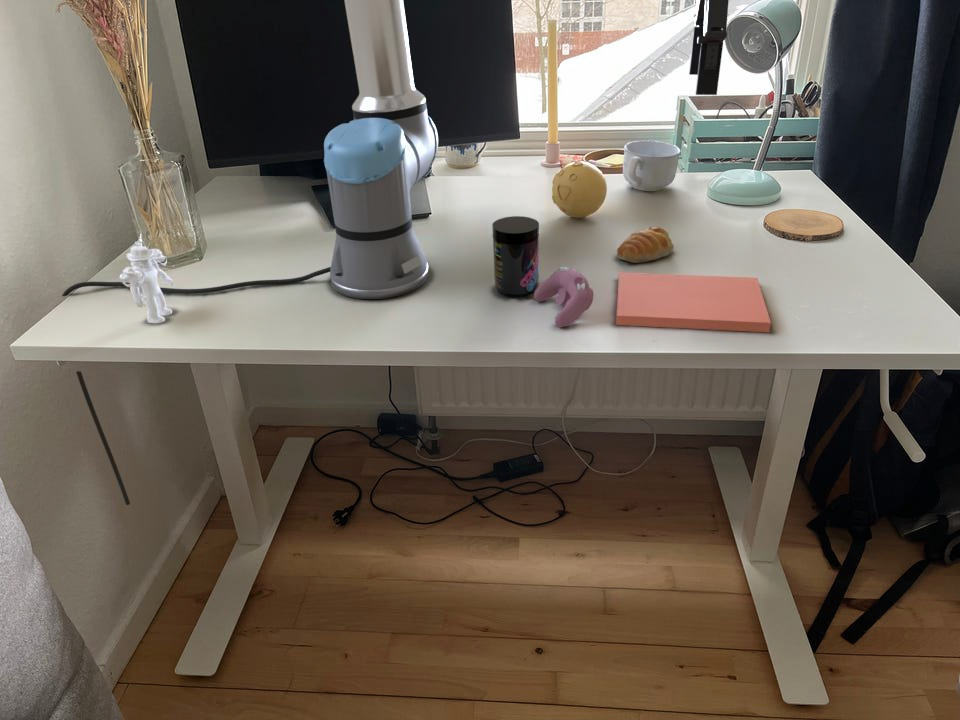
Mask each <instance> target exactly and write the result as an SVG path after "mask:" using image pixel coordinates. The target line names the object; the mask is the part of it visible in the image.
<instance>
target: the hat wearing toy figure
mask: <svg viewBox="0 0 960 720" xmlns="http://www.w3.org/2000/svg"><path fill="white" fill-rule="evenodd" d="M142 238H143V237H142V233H139V237H138V239H137V241H134V244H135V245H133V246H131V247H130V252H128V253H126V259H127V260H128V261H130V265H128V266H125V268H123V269H122V270H121V271H122V273H120V275H119V279H120V282H122V283H123V284H124V285H125V286H127V287H126V288H129V289H130V290H129V291H130V293H131V295H132V299H133V300H134V304H135V306H136V307H137V308H141V309H144V307H146V308H147V313H146V318H147V323H149V324H162V323H165V321H166V318H165V317H164V316H166V317H167V316H171V315H172V314H173V309H172V308H169V307H167V305H166V304H167V302H166V298H165V297H164V292H162V291H161V289H160V287H161V286H160V285H159V283H158V277H159V278H160V280H161V281H162V282H163V283H164V284H165V285H166V286H169V287H173V286H174V281H173V279H172V278H171V277H170V276H169V275H168V274H166V272H165V270H163V269H160V265H159V264H161V265H162V266H163V267H166V265H167V263H168V257H167V255H163V252H162V250H160V248H148V247H147V246H145V245H144V246H143V243H142V242H143V239H142ZM126 282H128V283H130V284H125V283H126Z"/></svg>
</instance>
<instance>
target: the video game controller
mask: <svg viewBox="0 0 960 720" xmlns="http://www.w3.org/2000/svg"><path fill="white" fill-rule="evenodd" d="M555 295H556V305H558V306H562V309H561V310H560V311H559V312H558V313H557V314H556V316H555V318H554V324H555V326H556V327H558V328H564V327H567V326H570V325H572V324H574V323H575V322H576V321H577V320H578V319H579V318H580V317H581V316H583V314H584V313H585V312H586V311H587V310H589V309H590V307H591V306H592V303H593V301H594V295H595V294H594V290H593V288H592V287H590V283H589V281H588V279H587V278H586V276H585V275H584V274H583V273H582V272H580V270H576V269H574V268H572V267H563V266H560V267H559V269H556V270H554V272H552V274H550V276H549V277H547V279H546V280H544V281H543V282H542V283H541V284H539V287H538V288H537V289H536V291H535V293H534V294H533V299H534V300H535V301H536V302H539V303H541V302H545V301H547V300H549V299H551V298H553V297H554V296H555Z"/></svg>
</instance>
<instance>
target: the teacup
mask: <svg viewBox="0 0 960 720" xmlns="http://www.w3.org/2000/svg"><path fill="white" fill-rule="evenodd" d="M623 149H624V152H623V161H622V175H623V178H624V180H625V181H626V182H627V183H628V184H629V185H630V186H631V187H632V188H633V189H635V190H638V191H643V192H658V191H661V190H663V189H665V188H666V187H668V186H669V185H671V184H672V182H673V181H674V180H675V177H676V174H677V170H678V165H679V159H680V154H681V149H680V148H679V146H677V145H674V144H671V143H668V142H665V141H659V140H634V141H630V142H627V143H626V144H625V145H624V146H623Z"/></svg>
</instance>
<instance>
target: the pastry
mask: <svg viewBox="0 0 960 720" xmlns="http://www.w3.org/2000/svg"><path fill="white" fill-rule="evenodd" d="M674 248H675V246H674V244H673V239H672V238H671V236H670V235H669V232H668V230H666V229H664V228H662V227H661V226H656V227H652V226H649V227H648V228H647V229H644V230H643V229H642V230H640V231H634V232H633V233H631V234H630V236H629V237H627V238H626V239H625V240H624V241H623V242H622V243H620V245H619V246H618V247H617V250H616V252H617V259H620V260H623V261H625V262H626V261H627V262H629V263H634V264H637V263H638V264H641V263H643V262H651V261H656V260H659V259H661V258H662V257H663V258H665V257H667V256H669V255H670V254H671V253H672V252H673V251H674Z"/></svg>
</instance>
